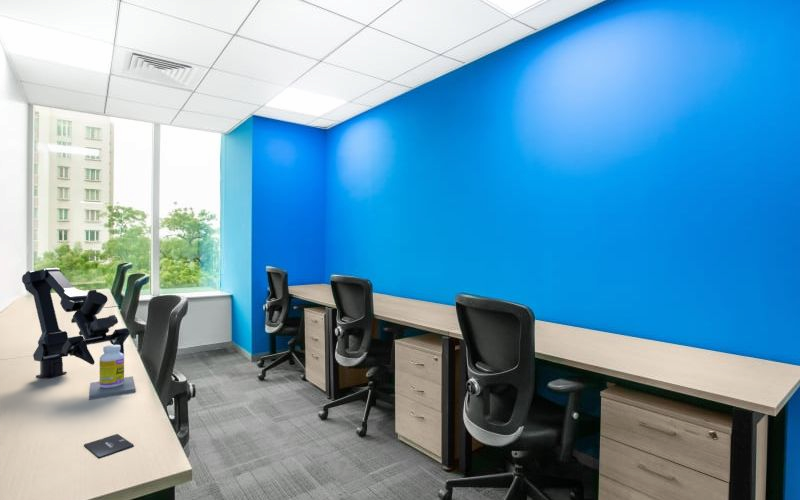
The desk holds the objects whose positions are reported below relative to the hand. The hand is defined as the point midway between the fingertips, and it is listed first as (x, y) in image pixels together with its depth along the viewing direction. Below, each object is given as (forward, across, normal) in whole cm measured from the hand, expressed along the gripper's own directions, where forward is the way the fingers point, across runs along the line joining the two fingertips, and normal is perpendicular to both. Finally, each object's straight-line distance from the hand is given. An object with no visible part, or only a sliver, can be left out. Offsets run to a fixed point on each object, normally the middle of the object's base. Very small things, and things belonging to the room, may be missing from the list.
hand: (108, 360), depth 138 cm
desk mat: (+8, 0, +5) cm, 9 cm away
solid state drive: (+37, -25, -24) cm, 50 cm away
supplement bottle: (+7, 0, +5) cm, 8 cm away
